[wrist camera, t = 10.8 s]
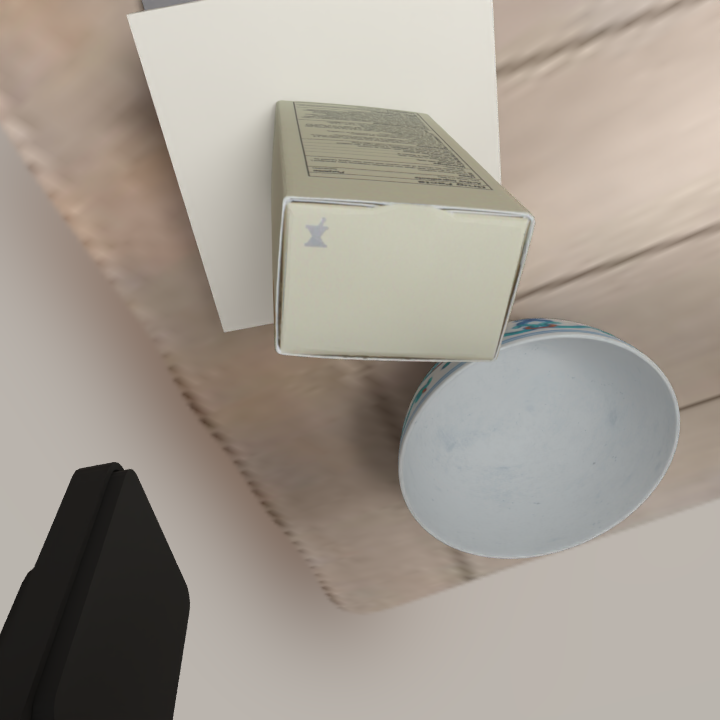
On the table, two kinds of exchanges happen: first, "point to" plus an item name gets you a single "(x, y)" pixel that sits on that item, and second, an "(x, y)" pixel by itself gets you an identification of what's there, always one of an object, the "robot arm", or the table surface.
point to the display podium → (298, 83)
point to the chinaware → (537, 441)
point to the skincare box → (388, 239)
